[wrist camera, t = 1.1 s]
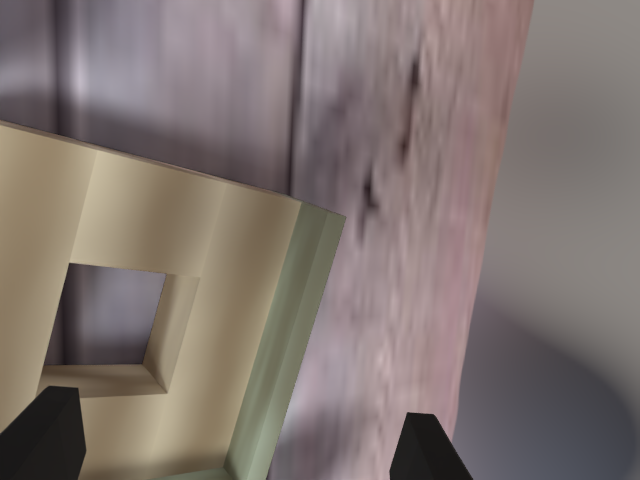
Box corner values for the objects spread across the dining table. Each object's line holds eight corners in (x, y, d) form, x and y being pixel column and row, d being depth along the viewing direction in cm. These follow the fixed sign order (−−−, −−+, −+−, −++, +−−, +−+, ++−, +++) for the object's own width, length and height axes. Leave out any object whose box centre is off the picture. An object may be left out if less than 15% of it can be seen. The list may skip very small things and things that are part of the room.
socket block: (-141, 501, 20) (-142, 603, 17) (-54, 105, 19) (-33, 121, 15) (209, 452, 30) (256, 509, 27) (284, 194, 29) (346, 216, 25)
